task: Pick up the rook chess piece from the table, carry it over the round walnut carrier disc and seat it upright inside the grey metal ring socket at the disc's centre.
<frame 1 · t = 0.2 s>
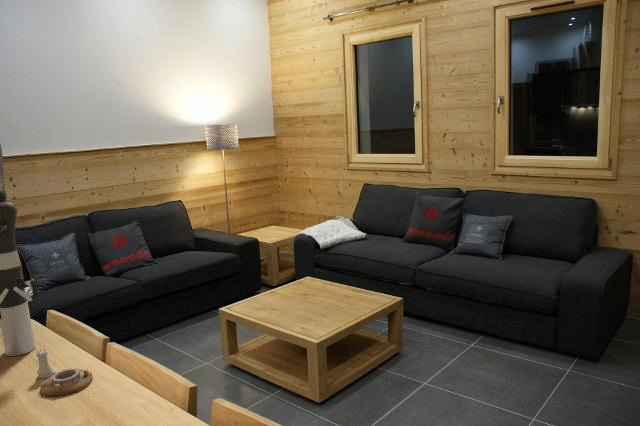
hand: (15, 315, 172), 17 cm above the table, tool pointing down, fingers open, 8 cm apart
rook chess piece: (45, 375, 167), on the table
carrier disc: (67, 384, 160), on the table
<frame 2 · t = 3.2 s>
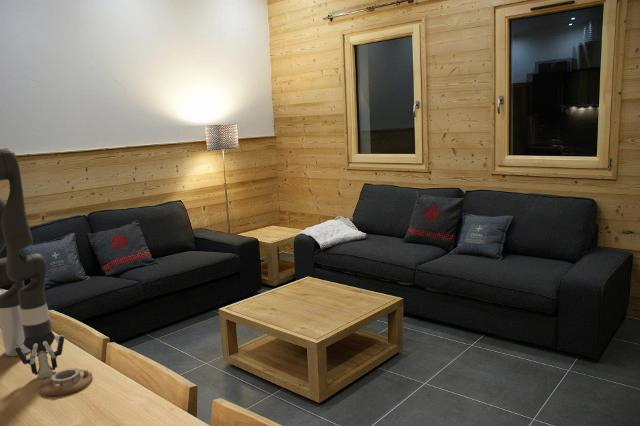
hand: (45, 371, 167), 1 cm above the table, tool pointing down, fingers closed on rook chess piece, 4 cm apart
rook chess piece: (45, 375, 167), on the table, touching gripper
when the fingers open (4 cm above the table, at t = 8.2 s): rook chess piece drops 1 cm, resting on carrier disc.
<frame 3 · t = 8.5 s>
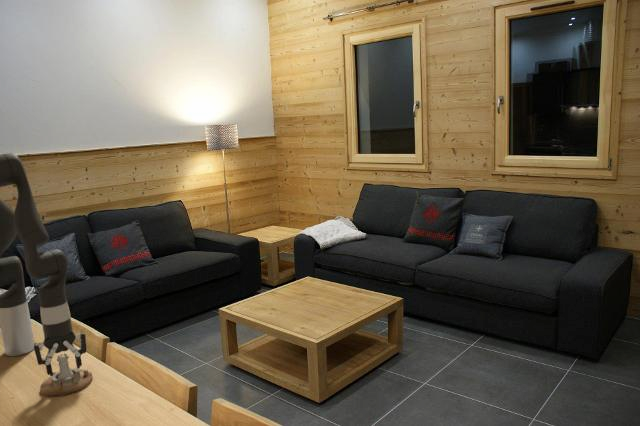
hand: (65, 371, 160), 4 cm above the table, tool pointing down, fingers open, 6 cm apart
rook chess piece: (66, 381, 160), point 1 cm above the table, touching carrier disc
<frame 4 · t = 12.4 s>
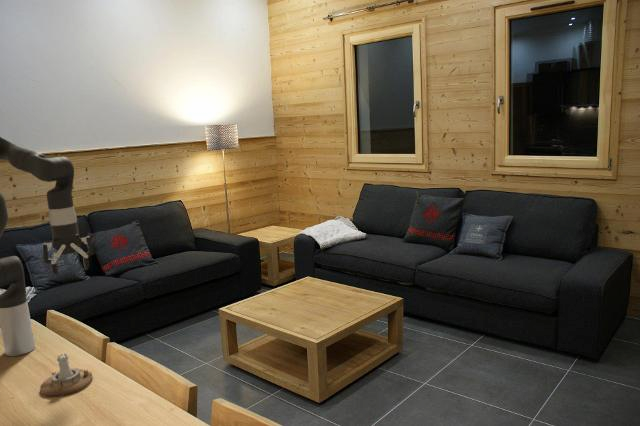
hand: (71, 272, 170), 30 cm above the table, tool pointing down, fingers open, 8 cm apart
nothing on the table moved.
at the end: rook chess piece 0.0 cm from the carrier disc (horizontally); rook chess piece tilted 0°; the gripper is holding nothing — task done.
